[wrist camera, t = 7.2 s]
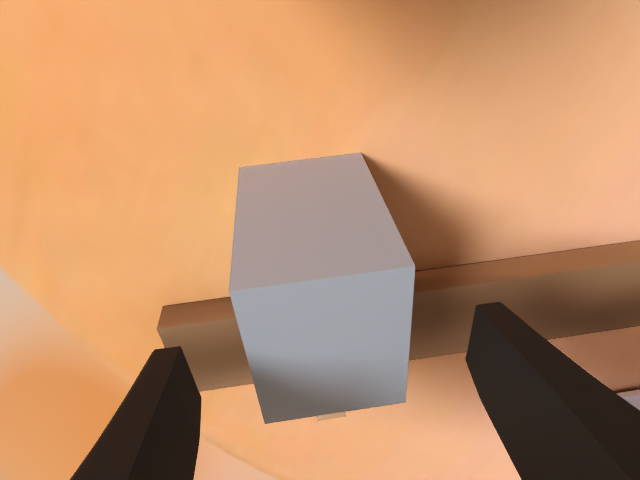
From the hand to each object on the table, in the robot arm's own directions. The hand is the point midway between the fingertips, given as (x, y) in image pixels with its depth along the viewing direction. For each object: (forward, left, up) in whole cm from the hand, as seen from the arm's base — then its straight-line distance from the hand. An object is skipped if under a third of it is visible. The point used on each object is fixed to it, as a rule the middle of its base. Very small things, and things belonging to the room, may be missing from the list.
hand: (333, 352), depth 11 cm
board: (-5, -5, -6) cm, 9 cm away
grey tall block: (-3, 0, -6) cm, 6 cm away
